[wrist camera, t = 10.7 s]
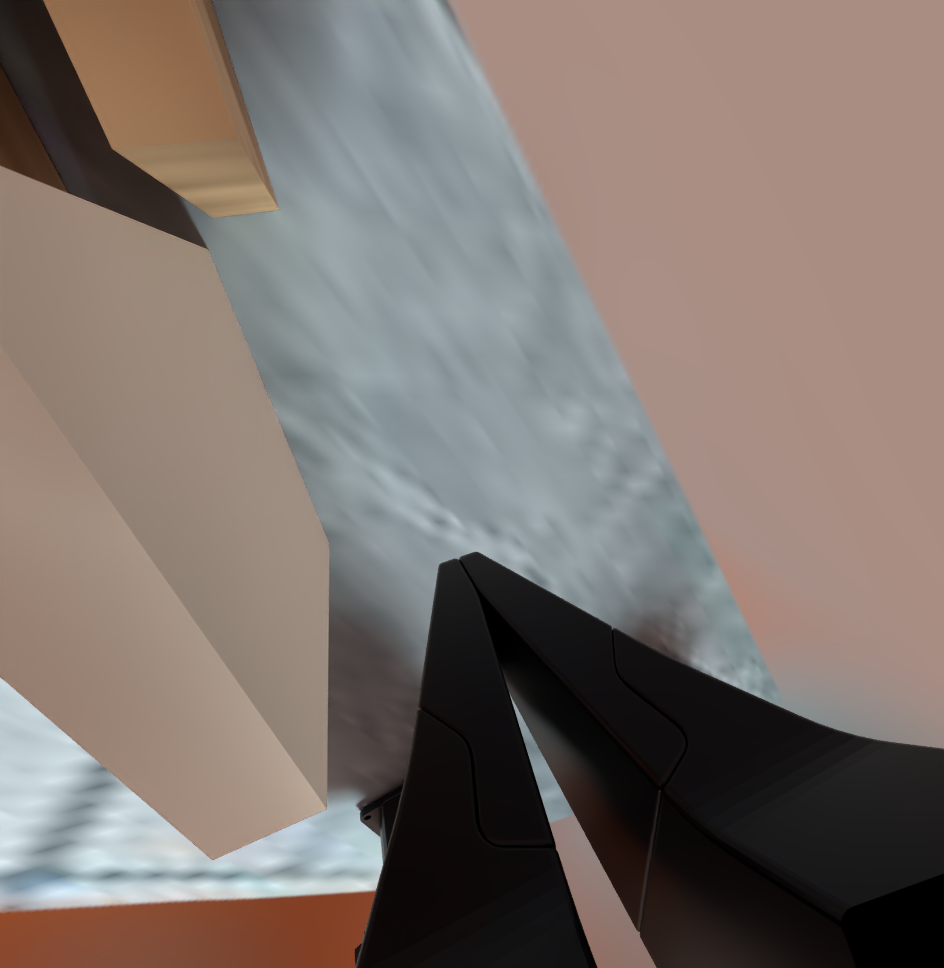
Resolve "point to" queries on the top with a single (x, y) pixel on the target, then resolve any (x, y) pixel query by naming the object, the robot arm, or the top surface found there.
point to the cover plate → (154, 525)
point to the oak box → (153, 101)
